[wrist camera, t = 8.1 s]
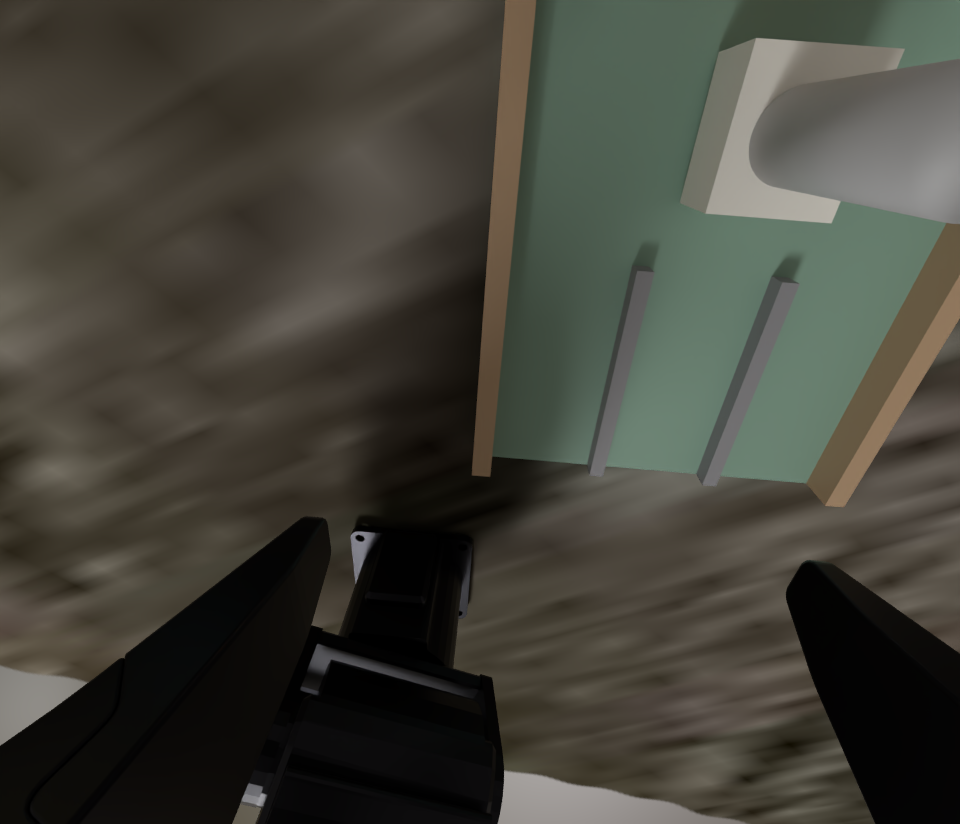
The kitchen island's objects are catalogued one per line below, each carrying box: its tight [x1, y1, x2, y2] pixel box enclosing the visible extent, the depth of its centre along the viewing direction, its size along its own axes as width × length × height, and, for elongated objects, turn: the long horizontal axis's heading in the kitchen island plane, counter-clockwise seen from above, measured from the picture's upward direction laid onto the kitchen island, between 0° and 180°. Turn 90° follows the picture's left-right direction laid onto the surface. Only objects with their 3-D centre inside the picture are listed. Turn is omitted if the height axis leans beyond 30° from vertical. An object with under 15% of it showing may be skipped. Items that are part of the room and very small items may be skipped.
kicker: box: [680, 38, 960, 224], centre depth 11 cm, size 4×4×8 cm
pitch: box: [472, 0, 960, 507], centre depth 16 cm, size 22×16×2 cm
